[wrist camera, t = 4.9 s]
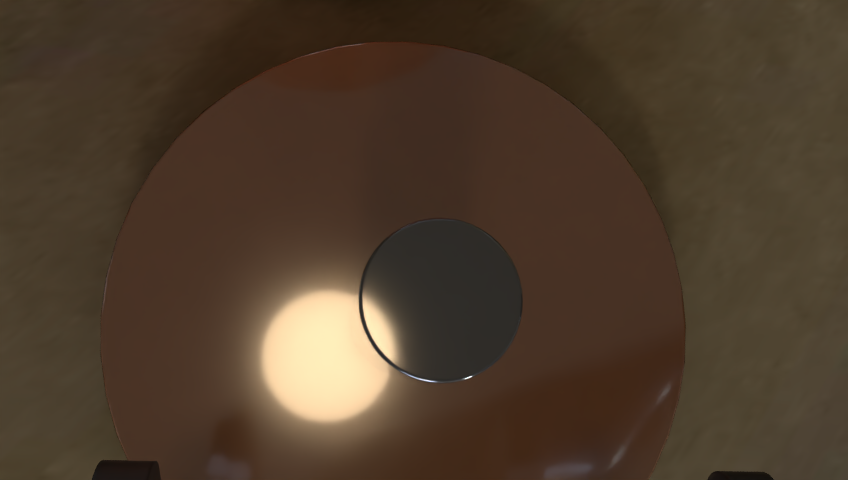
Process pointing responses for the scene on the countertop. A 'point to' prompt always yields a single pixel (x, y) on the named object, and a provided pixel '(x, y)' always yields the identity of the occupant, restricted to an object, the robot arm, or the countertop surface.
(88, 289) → the countertop surface
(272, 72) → the lid
